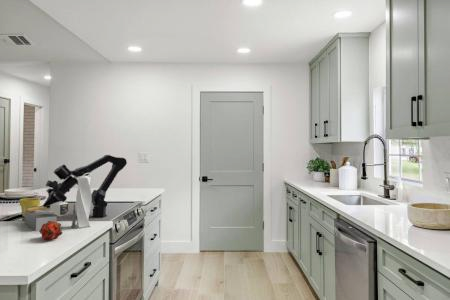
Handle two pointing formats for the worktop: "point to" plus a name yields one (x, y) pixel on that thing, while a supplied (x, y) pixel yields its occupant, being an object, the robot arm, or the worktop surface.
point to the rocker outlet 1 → (37, 208)
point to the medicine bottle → (59, 208)
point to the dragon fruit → (51, 230)
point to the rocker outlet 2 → (44, 212)
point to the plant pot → (28, 204)
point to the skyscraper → (82, 203)
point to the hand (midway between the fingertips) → (43, 206)
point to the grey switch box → (38, 219)
